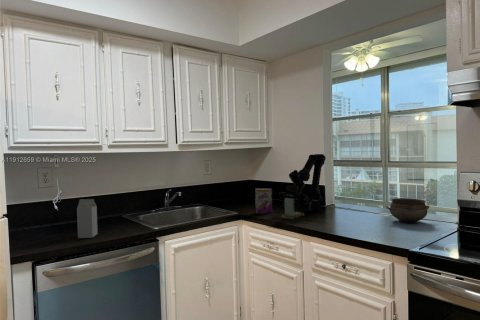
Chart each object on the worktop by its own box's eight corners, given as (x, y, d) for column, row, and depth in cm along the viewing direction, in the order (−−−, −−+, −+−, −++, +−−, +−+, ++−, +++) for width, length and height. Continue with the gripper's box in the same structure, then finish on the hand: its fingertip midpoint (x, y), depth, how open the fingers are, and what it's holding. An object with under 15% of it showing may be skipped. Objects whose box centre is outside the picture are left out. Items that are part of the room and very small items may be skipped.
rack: (293, 215, 206) (293, 211, 205) (304, 216, 200) (304, 212, 200) (281, 218, 196) (281, 214, 196) (292, 220, 190) (292, 216, 190)
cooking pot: (417, 217, 192) (417, 197, 192) (440, 224, 174) (440, 202, 173) (378, 219, 190) (378, 198, 189) (397, 226, 171) (397, 204, 170)
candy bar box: (255, 214, 212) (254, 189, 211) (255, 212, 217) (255, 188, 216) (272, 214, 211) (271, 189, 210) (272, 212, 216) (271, 188, 215)
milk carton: (83, 234, 167) (82, 198, 167) (97, 234, 168) (96, 198, 167) (77, 238, 160) (76, 200, 160) (92, 237, 161) (91, 200, 160)
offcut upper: (292, 214, 203) (292, 212, 203) (300, 215, 199) (300, 213, 199) (288, 215, 200) (288, 213, 200) (297, 217, 196) (297, 214, 196)
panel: (286, 218, 198) (286, 197, 197) (294, 219, 194) (294, 198, 194) (284, 218, 196) (284, 198, 196) (292, 219, 193) (292, 199, 192)
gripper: (279, 179, 204) (269, 199, 196) (306, 180, 191) (296, 201, 183) (287, 190, 210) (277, 209, 202) (312, 192, 197) (303, 213, 189)
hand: (288, 208), depth 194 cm, fingers open, 9 cm apart
